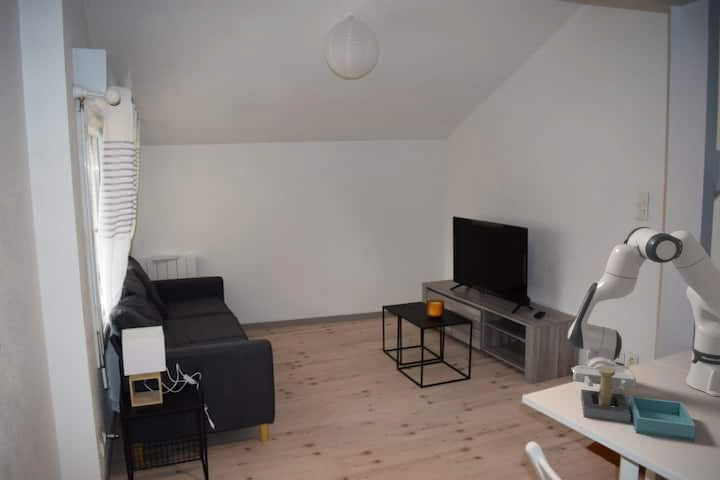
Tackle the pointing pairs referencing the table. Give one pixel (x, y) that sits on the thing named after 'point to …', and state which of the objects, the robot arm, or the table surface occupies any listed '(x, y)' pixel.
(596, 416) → the socket block
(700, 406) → the table surface
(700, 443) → the table surface
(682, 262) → the robot arm
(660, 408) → the bin
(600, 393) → the handle
